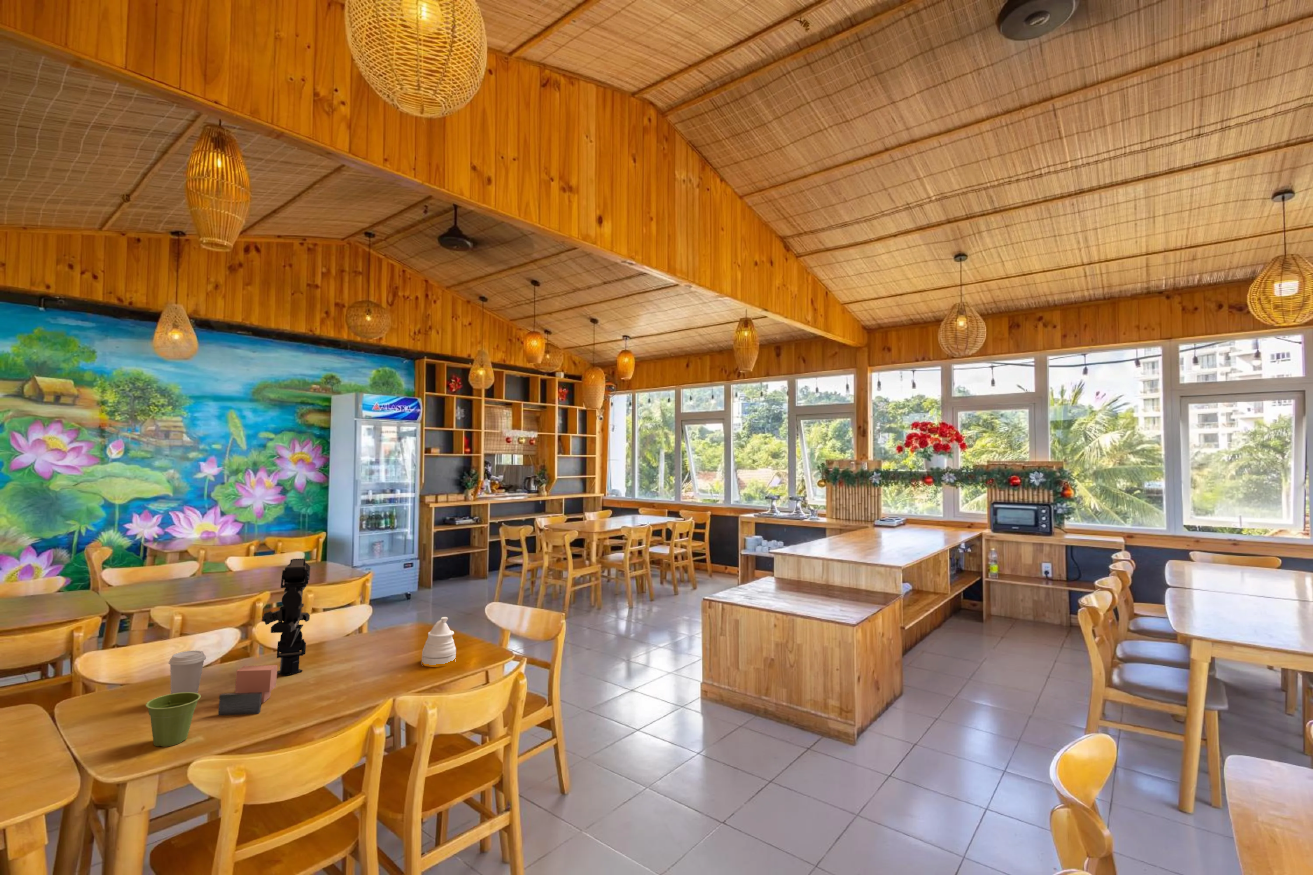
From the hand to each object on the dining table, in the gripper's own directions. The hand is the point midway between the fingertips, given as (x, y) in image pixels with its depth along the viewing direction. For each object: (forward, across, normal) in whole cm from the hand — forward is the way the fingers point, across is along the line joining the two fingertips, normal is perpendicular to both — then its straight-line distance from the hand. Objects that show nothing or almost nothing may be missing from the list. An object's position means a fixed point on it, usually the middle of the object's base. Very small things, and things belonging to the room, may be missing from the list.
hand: (289, 647), depth 210 cm
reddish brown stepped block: (+13, +15, -4) cm, 20 cm away
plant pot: (+13, +44, -13) cm, 48 cm away
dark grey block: (+13, +19, -4) cm, 23 cm away
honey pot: (+13, -22, +48) cm, 54 cm away
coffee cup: (+13, +13, -25) cm, 31 cm away
